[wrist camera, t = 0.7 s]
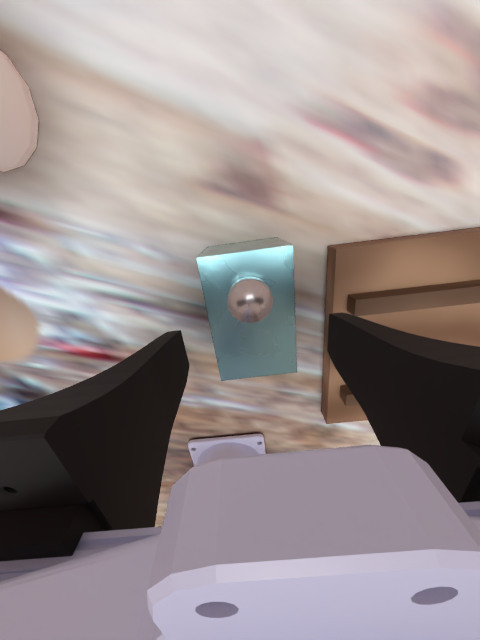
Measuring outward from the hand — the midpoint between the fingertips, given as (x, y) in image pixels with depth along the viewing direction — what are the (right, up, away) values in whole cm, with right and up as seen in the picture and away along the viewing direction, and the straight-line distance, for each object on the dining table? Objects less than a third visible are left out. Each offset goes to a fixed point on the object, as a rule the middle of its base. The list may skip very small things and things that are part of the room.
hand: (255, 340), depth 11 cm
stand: (+14, 0, +8) cm, 17 cm away
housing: (0, +3, +7) cm, 7 cm away
